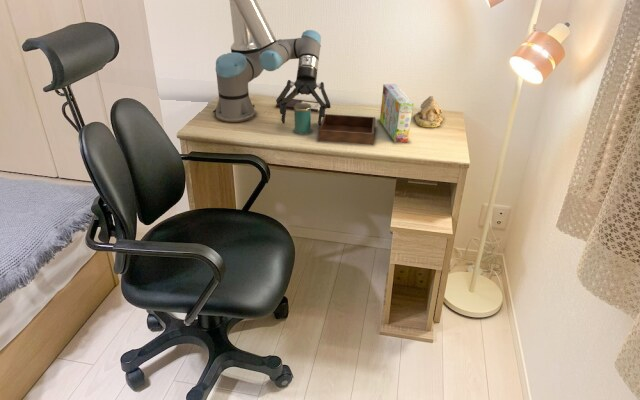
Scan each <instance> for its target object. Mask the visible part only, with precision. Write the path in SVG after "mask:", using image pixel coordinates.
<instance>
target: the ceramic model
mask: <svg viewBox="0 0 640 400" xmlns="http://www.w3.org/2000/svg"><path fill="white" fill-rule="evenodd" d="M442 114H443V109H442V108H441V107H440V106H439V105H438V104H437V102H436V100H435V97H434V96H432V95H429V96H428V97H427V98H426V99H425V100H423V102H422V103H421V104H420V111H417V112H416V114H415V115H414V120H415V122H416V124H417V126H419V127H421V128H437V127H439V126H440V125H441V122H442V121H443V120H444V116H442Z"/></svg>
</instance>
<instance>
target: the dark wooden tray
mask: <svg viewBox="0 0 640 400" xmlns="http://www.w3.org/2000/svg"><path fill="white" fill-rule="evenodd" d="M375 124H376V116H364V115H363V116H362V115H348V114H347V115H346V114H333V113H325V116H324V117H322V118H321V125H320V126H319V128H318V141H319V142H332V143H345V144H361V145H374V137H375V126H376V125H375Z"/></svg>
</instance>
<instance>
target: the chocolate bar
mask: <svg viewBox="0 0 640 400" xmlns="http://www.w3.org/2000/svg"><path fill="white" fill-rule="evenodd" d="M285 98H286V97H285ZM285 98H284V99H285ZM299 103H306V104H309V105H311V113H319V110H320V107H321V106H320V105H319V103H318V102H317V101H312V100H304V99H297V98H293V99H292V100H291V101H290V102H289V103H287V104H286V107H287V108H286V110H294V105H296V104H299ZM275 106H276V108H279V109H280V106H281V105H278V104H277V103H276V105H275Z"/></svg>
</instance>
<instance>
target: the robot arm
mask: <svg viewBox="0 0 640 400" xmlns="http://www.w3.org/2000/svg"><path fill="white" fill-rule="evenodd" d="M229 8H230V17H231V25H232V26H231V27H232V34H233V35H232V36H233V43H232V44H231V45H230V52H227V53H224V54H221V55H220V56H218V57H217V58H216V60H215V73H216V83H217V92H218V93H217V94H218V100H217V105H216V108H215V109H214V110H213V111H212V113H215V116H216V118H217V120H219V121H221V122H225V123H242V122H247V121H249V120H251V119H253V118H254V117H255V104H253V103H252V101H251V98H250V93H249V92H250V91H249V83H250V82H252V81H253V80H254V79H256V78H258V77H259V76H260V75H262V73H263V72H264V70H265V71H266V72H275V71H276V70H278V69H280V68H281V67H282V66H283V65H285V64H286V63H287V62H288V61H289V60H298V64H297V71H296V78H295V81H291V79H288V80H287V82H286V85H285V86H284V88H283V89H282V91H281V92H280V94H279V95H278V97H277V98H276V100H275V101H276V102H275V103H276V105H277V104H278V105H281V106H280V108H279V114H280V115H281V123H282V124H283V125H284V124H285V123H286V115H287V107H286V104H287V103H289V102H290V101H291V100H292V99H295V97H296V96H298V95H299V94H300V95H307V96H310V95H311V96H312V97H313V98H314V100H315V102H318V103H319V105H320V106H321V107H320V110H319V111H318V117H317V118H318V120H317V125H318V127H320V125H321V122H322V119H323V117H324V116H325V114H326V110H327V109H331V107H332V106H331V102H330V99H329V97H328V94H327V92H326V90H325V83H324V82H323V81H321V82H320V83H318V82H317V79H318V71H319V62H320V61H319V60H320V53H321V47H322V43H321V42H322V37H321V34H320V33H319V32H318V31H316V30H313V29H307V30H305V31H303V32H302V34H301V37H297V38H284V39H283V38H282V39H281V38H280V39H276V36H275V35H274V32H273V31H272V29H271V27H270V24H269V23H268V20H267V19H266V16H265V14H264V13H263V11H262V9H261V6H260V4H259V3H258V1H257V0H229ZM293 87H294V88H293ZM292 88H293V90H292V91H291V92H290V90H291V89H292ZM317 88H318V90H320V92H321V95H322V97H323V99H321V97H320V95H318V93H317V92H316V89H317ZM289 92H290V93H289ZM284 98H285V99H284ZM323 100H324V101H323Z"/></svg>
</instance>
